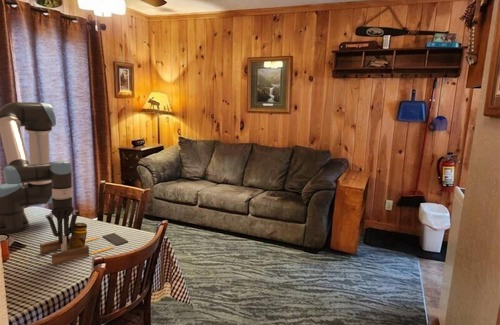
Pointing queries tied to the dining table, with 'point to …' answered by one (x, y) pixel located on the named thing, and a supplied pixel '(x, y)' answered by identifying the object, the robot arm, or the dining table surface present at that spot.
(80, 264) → the dining table surface
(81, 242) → the condiment
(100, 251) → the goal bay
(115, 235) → the mat
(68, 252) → the parallel wooden rails
